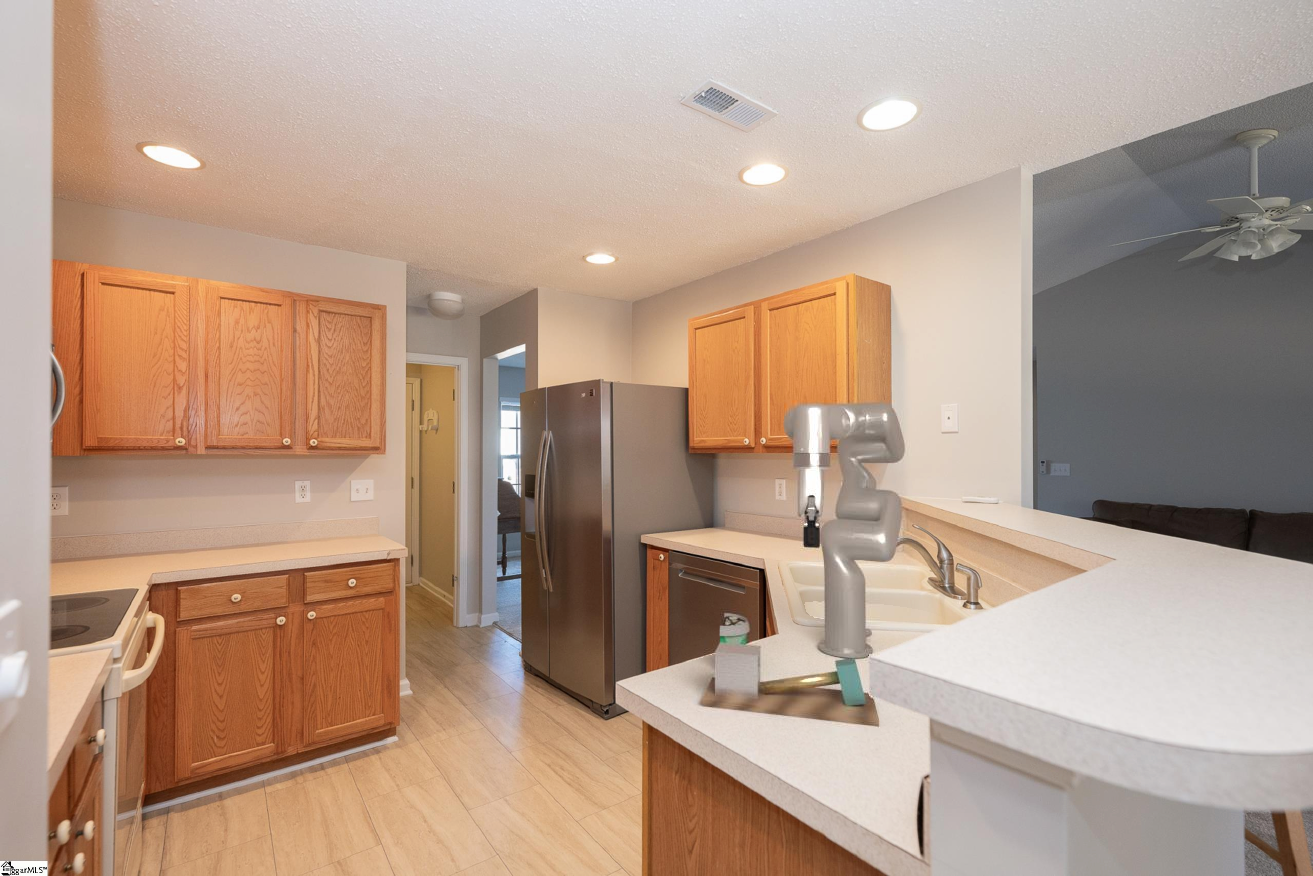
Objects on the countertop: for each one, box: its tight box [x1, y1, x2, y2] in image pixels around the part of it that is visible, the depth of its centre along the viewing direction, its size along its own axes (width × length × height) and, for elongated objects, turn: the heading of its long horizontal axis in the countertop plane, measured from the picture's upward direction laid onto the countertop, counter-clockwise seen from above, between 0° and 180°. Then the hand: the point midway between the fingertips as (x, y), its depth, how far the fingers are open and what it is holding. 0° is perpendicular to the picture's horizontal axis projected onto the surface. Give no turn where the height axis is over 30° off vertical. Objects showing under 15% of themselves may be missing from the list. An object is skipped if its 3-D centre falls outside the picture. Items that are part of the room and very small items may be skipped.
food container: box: [719, 612, 751, 645], centre depth 133 cm, size 12×6×10 cm, turn 168°
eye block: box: [714, 642, 761, 699], centre depth 114 cm, size 8×6×8 cm
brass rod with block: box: [761, 658, 866, 706], centre depth 111 cm, size 18×4×7 cm, turn 76°
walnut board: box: [701, 676, 880, 727], centre depth 112 cm, size 31×12×1 cm, turn 75°
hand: (811, 544), depth 124 cm, fingers open, 9 cm apart
